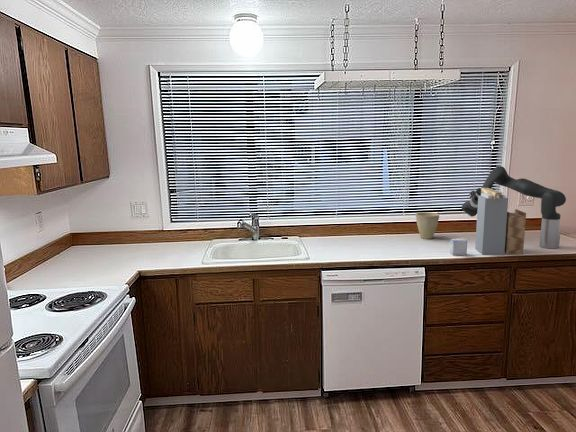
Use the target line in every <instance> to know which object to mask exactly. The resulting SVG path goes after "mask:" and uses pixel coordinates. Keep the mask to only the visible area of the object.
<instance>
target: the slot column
mask: <svg viewBox="0 0 576 432" xmlns="http://www.w3.org/2000/svg"><path fill="white" fill-rule="evenodd" d="M502 195H503V199H494V198H492V195H489V194H486V193H481V196H478V209H477V214H476V228H475V229H476V230H475V246H474V247H475V248H474V249H475V250H476V251H477V252H478V253H480V254H481V255H501V256H502V255H505V253H504V250H505V236H506V222H507V212H508V208H509V198H508V197H506V195H505V194H502Z"/></svg>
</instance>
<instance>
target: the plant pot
mask: <svg viewBox="0 0 576 432" xmlns="http://www.w3.org/2000/svg"><path fill="white" fill-rule="evenodd" d="M415 218H416V225H417V229H418V230H417V231H418V233H419V236H420V238H421V239H424V240H431V239H433V238H434V237H435V233H436V230H437V226H438V224H439V219H440V214H439V213H436V212H427V211H426V212H417V213H415Z"/></svg>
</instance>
